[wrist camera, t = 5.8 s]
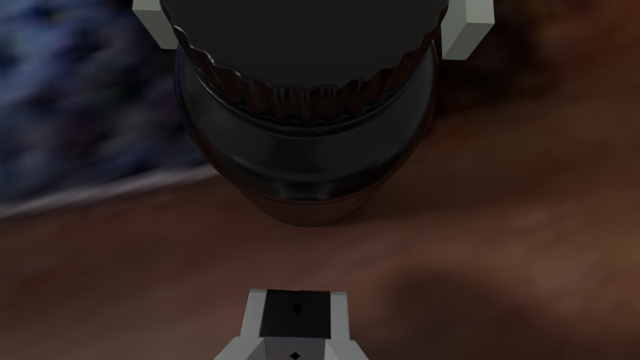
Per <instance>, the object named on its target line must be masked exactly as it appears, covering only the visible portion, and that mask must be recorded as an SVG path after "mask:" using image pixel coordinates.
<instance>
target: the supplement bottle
mask: <svg viewBox="0 0 640 360" xmlns="http://www.w3.org/2000/svg"><path fill="white" fill-rule="evenodd" d="M159 3H160V6H161V9H162V11H163V13H164V15H165V16H166V18H167V20H168V21H169V23H170V25H171V26H172V29H173V32H174V34H175V36H176V38H177V40H178V41H179V42H178V46H177V50H176V55H175V62H174V91H175V97H176V102H177V106H178V110H179V113H180V116H181V119H182V122H183V124H184V126H185V128H186V131H187V132H188V134H189V136H190V138H191V139H192V141H193V143H194V144H195V145H196V147H197V148H198V149H199V151H200V152H201V154H202V155H203V156H204V157H205V158H206V160H207V161H208V162H209V163H210V164H211V165H212V166H213V167H214V168H215V169H216V170H217V171H218V172H219V173H220V174H221V175H222V176H224V177H225V178H226V179H227V180H228V181H229V182H230V183H231V184H232V185H233V186H234V187H236V188H237V189H238V190H239V191H240V192H241V193H242V194H243V195H244V196H246V197H247V198H248V199H249V200H250V201H251V202H252V203H253V204H254V205H255V206H257V207H258V208H259V209H260V210H262V211H263V212H264V213H266V214H267V215H269V216H270V217H272V218H274V219H276V220H278V221H280V222H283V223H286V224H289V225H293V226H299V227H318V226H325V225H328V224H332V223H335V222H337V221H340V220H342V219H344V218H346V217H347V216H349V215H351V214H352V213H353V212H355V211H356V210H357V209H358V208H360V207H361V206H362V205H363V204H364V203H365V202H366V201H367V200H368V199H369V198H370V197H371V196H372V195H373V194H374V193H375V192H376V191H377V190H378V189H379V188H380V187H381V186H382V185H383V184H384V183H385V182H386V181H387V180H388V179H389V178H390V177H391V176H392V175H393V174H394V173H395V172H396V171H397V170H398V169H399V168H400V167H401V166H402V165H403V164H404V163H405V162H406V161H407V159H408V158H409V157H410V156H411V155H412V153H413V152H414V150H415V149H416V147H417V146H418V145H419V143H420V142H421V140H422V138H423V137H424V135H425V133H426V131H427V129H428V127H429V124H430V122H431V120H432V117H433V113H434V110H435V107H436V101H437V96H438V87H439V68H438V60H437V54H436V50H435V46H434V42H433V38H434V36H435V33H436V31H437V30H438V28H439V26H440V24H441V22H442V21H443V19H444V17H445V15H446V13H447V10H448V6H449V0H159Z"/></svg>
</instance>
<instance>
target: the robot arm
mask: <svg viewBox="0 0 640 360" xmlns="http://www.w3.org/2000/svg"><path fill="white" fill-rule="evenodd" d="M214 360H369V359H368V358H367V356H366V355H365V354H364V352H363V351H362V349H361V348H360V347H359V345H358V344H357V343H356V341H355V340H350V330H349V314H348V298H347V293H346V292H334V291H331V292H330V291H304V290H299V291H289V290H273V289H251V291H250V293H249V297H248V302H247V306H246V311H245V316H244V320H243V325H242V329H241V334H240V337H234V338H233V339H232V340H231V341H230V343H229V344H228V345H227V346H226V347H225V348H224V349H223V350H222V351H221V352H220V353H219V354H218V355H217V356H216V358H215V359H214Z"/></svg>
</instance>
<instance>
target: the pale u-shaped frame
mask: <svg viewBox="0 0 640 360" xmlns="http://www.w3.org/2000/svg"><path fill="white" fill-rule="evenodd" d="M132 10H133V11H134V13H135V14H136V15H137V17H138V18H139V19H140V21H141V22H142V23H143V25H144V26H145V27H146V28H147V30H148V31H149V32H150V34H151V35H152V36H153V38H154V39H155V40H156V42H157V43H158V44H159V46H160V47H161V48H162V49H177V46H178V42H179V41H178V40H177V38H176V36H175V34H174V32H173V29H172V26H171V25H170V23H169V21H168V20H167V18H166V16H165V15H164V13H163V11H162V9H161V6H160V3H159V0H134V1H133V8H132ZM494 24H495V22H494V8H493V0H449V6H448V10H447V13H446V15H445V17H444V19H443V21H442V22H441V35H442V59H451V60H466V59H467V58H468V56H469V55H470V54H471V53H472V51H473V50H474V49H475V48H476V46H477V45H478V44H479V43H480V41H481V40H482V39H483V37H484V36H485V35H486V34H487V32H488V31H489V30H490V29H491V27H492V26H493V25H494Z"/></svg>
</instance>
